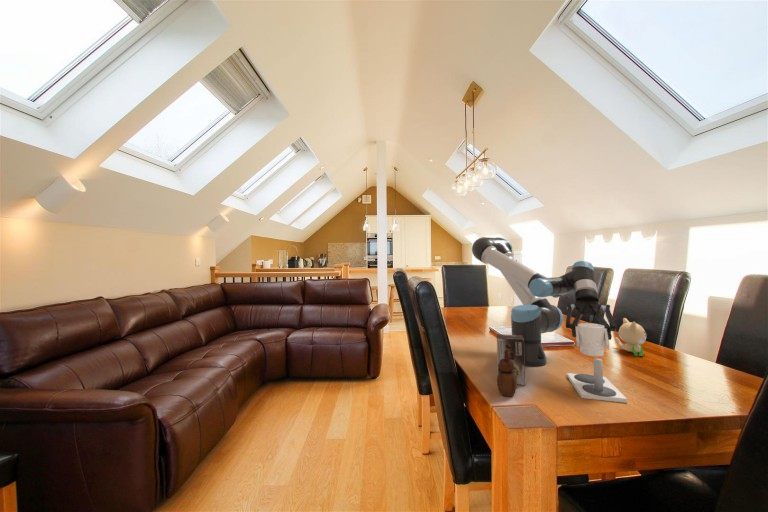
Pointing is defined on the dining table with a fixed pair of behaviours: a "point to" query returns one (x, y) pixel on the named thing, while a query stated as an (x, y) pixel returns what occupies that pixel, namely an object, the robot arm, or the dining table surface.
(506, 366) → the wooden figurine
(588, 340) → the white cup
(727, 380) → the dining table surface
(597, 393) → the board
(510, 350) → the coffee box
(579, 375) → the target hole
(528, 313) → the robot arm
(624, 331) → the kitten
